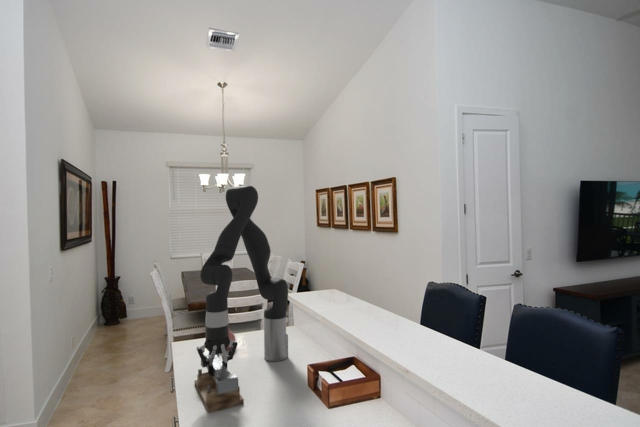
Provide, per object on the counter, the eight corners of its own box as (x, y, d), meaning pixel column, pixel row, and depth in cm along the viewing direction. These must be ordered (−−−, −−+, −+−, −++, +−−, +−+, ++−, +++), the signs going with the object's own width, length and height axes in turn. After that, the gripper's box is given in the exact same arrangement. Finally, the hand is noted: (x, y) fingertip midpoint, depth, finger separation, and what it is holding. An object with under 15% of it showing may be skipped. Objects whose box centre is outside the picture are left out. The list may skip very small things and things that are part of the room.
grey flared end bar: (217, 361, 140) (217, 350, 140) (237, 389, 118) (237, 377, 118) (200, 364, 137) (200, 353, 137) (218, 394, 115) (218, 381, 115)
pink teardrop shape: (229, 352, 165) (229, 325, 165) (214, 350, 168) (214, 323, 168) (238, 346, 173) (238, 320, 173) (224, 344, 175) (223, 319, 175)
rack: (225, 377, 140) (225, 360, 140) (243, 403, 121) (243, 383, 121) (194, 384, 134) (194, 366, 134) (208, 412, 115) (208, 391, 115)
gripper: (234, 317, 134) (235, 366, 134) (193, 323, 127) (193, 374, 127) (240, 322, 128) (241, 373, 128) (197, 329, 121) (198, 383, 121)
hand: (217, 374), depth 128 cm, fingers closed on grey flared end bar, 3 cm apart
